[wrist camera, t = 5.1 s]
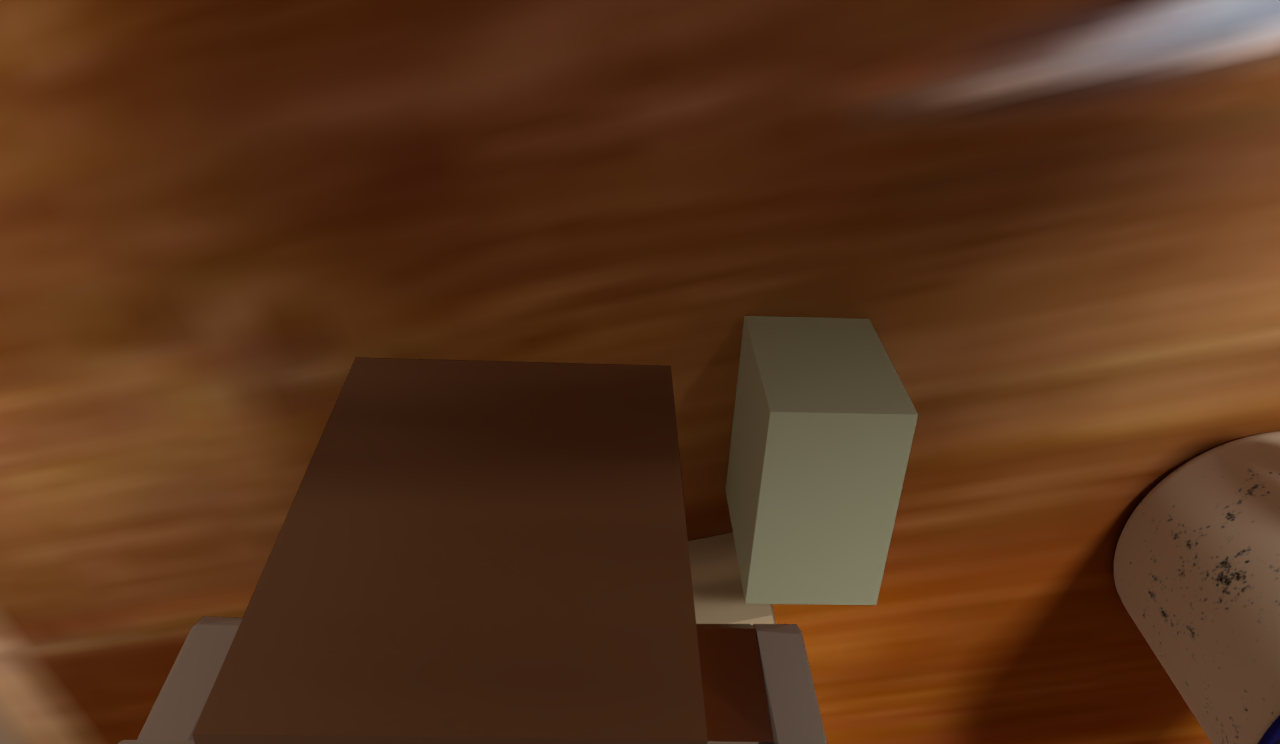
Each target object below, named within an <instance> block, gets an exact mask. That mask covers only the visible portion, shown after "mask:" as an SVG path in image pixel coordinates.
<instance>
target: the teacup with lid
mask: <svg viewBox="0 0 1280 744" xmlns="http://www.w3.org/2000/svg"><path fill="white" fill-rule="evenodd" d="M1114 580H1115V586H1116V589H1117V592H1118V595H1119V597H1120V599H1121V601H1122V604H1123V605H1124V607H1125V608H1126V610H1127V612H1128V613H1129V615H1130V616H1131V618H1132V619H1133V621H1134V623H1135V624H1136V626H1137V627H1138V629H1139V630H1140V632H1141V633H1142V635H1143V637H1144V638H1145V640H1146V641H1147V643H1148V644H1149V646H1150V648H1151V649H1152V651H1153V652H1154V654H1155V655H1156V657H1157V658H1158V660H1159V662H1160V663H1161V665H1162V666H1163V668H1164V669H1165V671H1166V673H1167V674H1168V676H1169V677H1170V679H1171V680H1172V682H1173V683H1174V685H1175V687H1176V688H1177V690H1178V691H1179V693H1180V694H1181V696H1182V698H1183V699H1184V701H1185V702H1186V704H1187V705H1188V707H1189V708H1190V710H1191V712H1192V713H1193V715H1194V716H1195V718H1196V719H1197V721H1198V723H1199V724H1200V726H1201V727H1202V729H1203V730H1204V732H1205V733H1206V735H1207V737H1208V738H1209V740H1210V741H1211V743H1212V744H1280V431H1277V432H1270V433H1262V434H1257V435H1253V436H1248V437H1244V438H1241V439H1237V440H1234V441H1231V442H1228V443H1226V444H1223V445H1220V446H1218V447H1216V448H1213V449H1211V450H1209V451H1207V452H1205V453H1203V454H1201V455H1199V456H1197V457H1195V458H1193V459H1192V460H1190V461H1188V462H1187V463H1185V464H1183V465H1182V466H1180V467H1179V468H1178V469H1176V470H1175V471H1173V472H1172V473H1170V474H1169V475H1168V476H1167V477H1166V478H1164V479H1163V480H1162V481H1161V482H1159V483H1158V484H1157V485H1156V486H1155V487H1154V488H1153V489H1152V490H1151V491H1150V492H1149V493H1148V494H1147V495H1146V496H1145V498H1144V499H1143V500H1142V501H1141V502H1140V503H1139V505H1138V506H1137V507H1136V509H1135V510H1134V511H1133V513H1132V514H1131V516H1130V518H1129V519H1128V521H1127V523H1126V525H1125V527H1124V529H1123V531H1122V533H1121V535H1120V538H1119V541H1118V543H1117V547H1116V551H1115V556H1114Z"/></svg>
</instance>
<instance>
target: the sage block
mask: <svg viewBox="0 0 1280 744" xmlns="http://www.w3.org/2000/svg"><path fill="white" fill-rule="evenodd" d="M917 418H918V413H917V411H916V409H915V407H914V405H913V403H912V401H911V400H910V398H909V396H908V394H907V392H906V390H905V388H904V386H903V384H902V382H901V380H900V378H899V376H898V374H897V372H896V370H895V368H894V366H893V364H892V362H891V360H890V358H889V356H888V354H887V352H886V350H885V348H884V346H883V344H882V342H881V340H880V338H879V336H878V334H877V332H876V331H875V329H874V327H873V325H872V323H871V321H870V319H859V318H818V317H777V316H744V324H743V334H742V343H741V352H740V361H739V370H738V379H737V389H736V398H735V407H734V416H733V425H732V434H731V444H730V453H729V462H728V471H727V480H726V489H725V490H726V496H727V502H728V507H729V513H730V519H731V525H732V530H733V536H734V542H735V548H736V553H737V559H738V565H739V570H740V576H741V582H742V588H743V593H744V599H745V604H833V605H876V604H877V599H878V595H879V590H880V586H881V581H882V577H883V572H884V568H885V563H886V559H887V554H888V549H889V545H890V540H891V536H892V531H893V527H894V522H895V518H896V513H897V509H898V504H899V500H900V495H901V491H902V486H903V481H904V477H905V472H906V468H907V463H908V459H909V454H910V450H911V445H912V441H913V436H914V432H915V427H916V423H917Z"/></svg>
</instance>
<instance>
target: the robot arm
mask: <svg viewBox="0 0 1280 744" xmlns="http://www.w3.org/2000/svg"><path fill="white" fill-rule="evenodd" d="M242 619H243V618H238V617H211V616H203V617H202V618H201V619H200V620H199V621H198V622H197V623H196V624H195V625H194V626H193V627H192V628H191V630H190V632H189V634H188V636H187V638H186V640H185V642H184V644H183V646H182V648H181V650H180V652H179V654H178V657H177V659H176V661H175V663H174V665H173V667H172V669H171V671H170V673H169V675H168V677H167V679H166V681H165V683H164V685H163V687H162V689H161V691H160V693H159V695H158V697H157V699H156V701H155V703H154V706H153V708H152V710H151V712H150V714H149V716H148V718H147V720H146V722H145V724H144V726H143V728H142V730H141V732H140V734H139V736H138V738H137V740H122V741H120V742H119V743H118V744H195V742H194V739H193V735H192V734H193V731H194V729H195V727H196V725H197V722H198V720H199V718H200V715H201V713H202V711H203V708H204V706H205V704H206V702H207V699H208V697H209V695H210V692H211V690H212V688H213V685H214V683H215V681H216V678H217V676H218V674H219V672H220V669H221V667H222V665H223V662H224V660H225V658H226V655H227V653H228V651H229V648H230V646H231V644H232V642H233V639H234V637H235V635H236V632H237V630H238V628H239V625H240V623H241V621H242ZM696 627H697V637H698V647H699V657H700V667H701V678H702V688H703V698H704V708H705V718H706V728H707V738H708V740H707V744H827V741H826V736H825V732H824V728H823V723H822V719H821V715H820V710H819V706H818V701H817V697H816V693H815V688H814V684H813V679H812V675H811V671H810V666H809V662H808V658H807V653H806V649H805V644H804V640H803V636H802V631H801V630H800V628H799V627H798V626H797V624H753V625H750V624H696Z"/></svg>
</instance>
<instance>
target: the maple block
mask: <svg viewBox="0 0 1280 744" xmlns="http://www.w3.org/2000/svg"><path fill="white" fill-rule="evenodd" d="M688 546H689V556H690V566H691V577H692V587H693V597H694V607H695V617H696V624H750V625H753V624H776V621H775V617H774V612H773V608H772V604H745V599H744V593H743V588H742V582H741V576H740V570H739V565H738V559H737V553H736V548H735V542H734V536H733V532H732V533H727V534H722V535H717V536H712V537H707V538H702V539H697V540H692V541H688Z"/></svg>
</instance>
